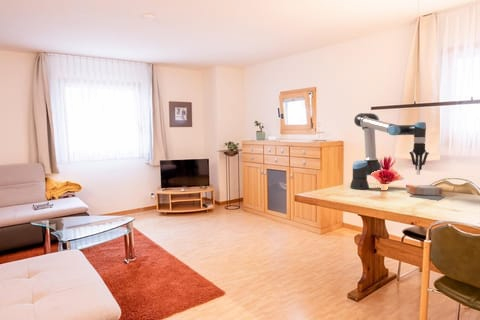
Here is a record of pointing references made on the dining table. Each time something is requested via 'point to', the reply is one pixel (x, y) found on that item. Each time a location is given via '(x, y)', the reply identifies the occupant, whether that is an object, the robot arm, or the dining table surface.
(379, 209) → the dining table surface
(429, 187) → the cracker box
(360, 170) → the robot arm
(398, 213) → the dining table surface
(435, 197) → the felt mat
